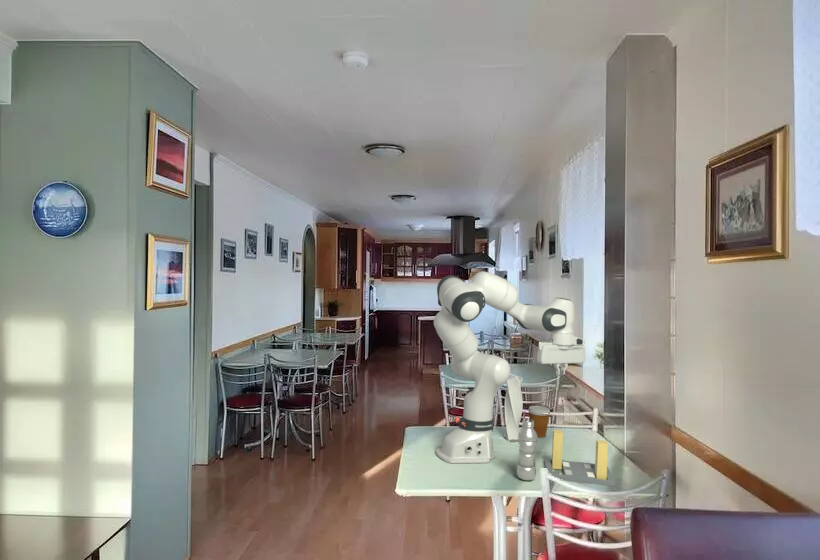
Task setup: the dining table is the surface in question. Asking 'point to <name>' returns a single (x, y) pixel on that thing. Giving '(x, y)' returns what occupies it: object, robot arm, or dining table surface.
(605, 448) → the yellow bar
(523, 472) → the plastic bottle
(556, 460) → the yellow rectangular block
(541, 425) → the disposable coffee cup
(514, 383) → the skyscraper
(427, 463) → the dining table surface
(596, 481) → the switch bank
